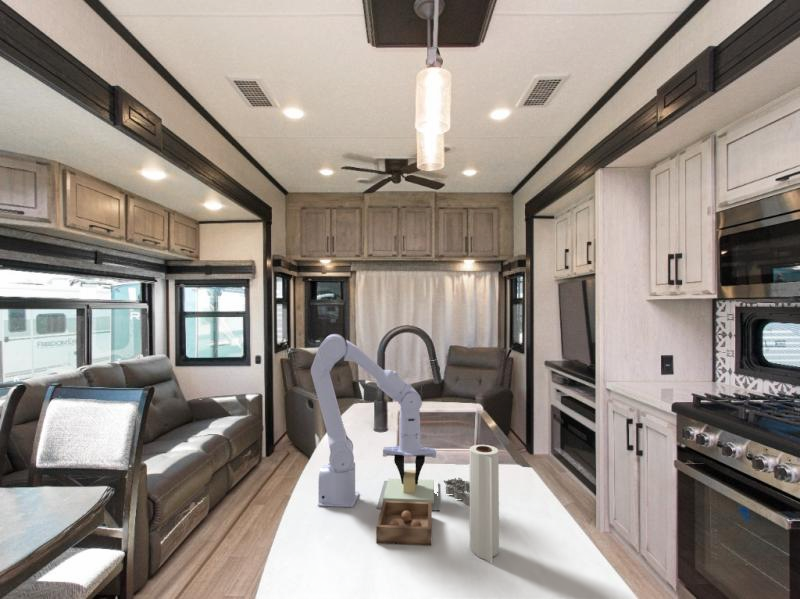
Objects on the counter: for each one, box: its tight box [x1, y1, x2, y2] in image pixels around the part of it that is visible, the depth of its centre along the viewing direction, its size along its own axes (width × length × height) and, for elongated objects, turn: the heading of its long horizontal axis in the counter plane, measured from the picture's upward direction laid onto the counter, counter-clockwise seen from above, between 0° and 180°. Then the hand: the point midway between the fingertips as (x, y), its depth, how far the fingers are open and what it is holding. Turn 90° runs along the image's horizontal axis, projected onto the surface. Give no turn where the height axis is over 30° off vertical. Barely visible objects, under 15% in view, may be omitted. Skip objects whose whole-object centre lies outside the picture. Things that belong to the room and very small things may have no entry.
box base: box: [375, 501, 433, 547], centre depth 94 cm, size 12×12×4 cm
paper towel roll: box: [469, 444, 500, 564], centre depth 86 cm, size 7×6×21 cm
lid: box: [383, 469, 435, 503], centre depth 111 cm, size 13×13×5 cm
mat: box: [376, 480, 441, 510], centre depth 111 cm, size 16×16×1 cm
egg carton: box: [443, 477, 470, 506], centre depth 111 cm, size 11×8×4 cm
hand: (409, 482), depth 111 cm, fingers closed on lid, 3 cm apart
